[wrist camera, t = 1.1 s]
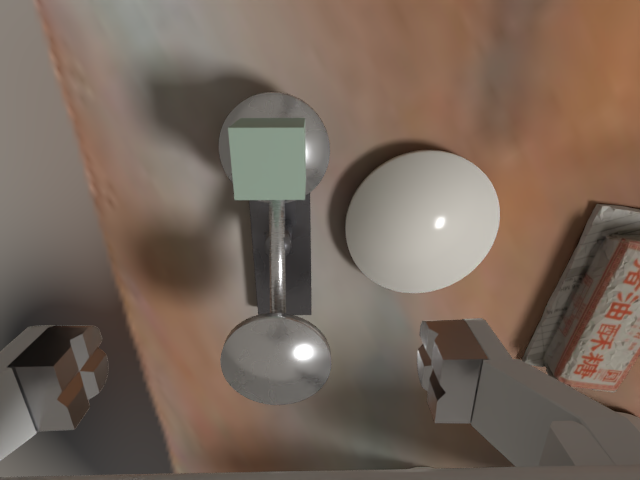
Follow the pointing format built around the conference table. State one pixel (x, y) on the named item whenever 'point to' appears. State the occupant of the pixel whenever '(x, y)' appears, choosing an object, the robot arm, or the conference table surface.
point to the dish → (422, 221)
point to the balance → (279, 275)
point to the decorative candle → (422, 468)
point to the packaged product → (594, 306)
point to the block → (268, 158)
